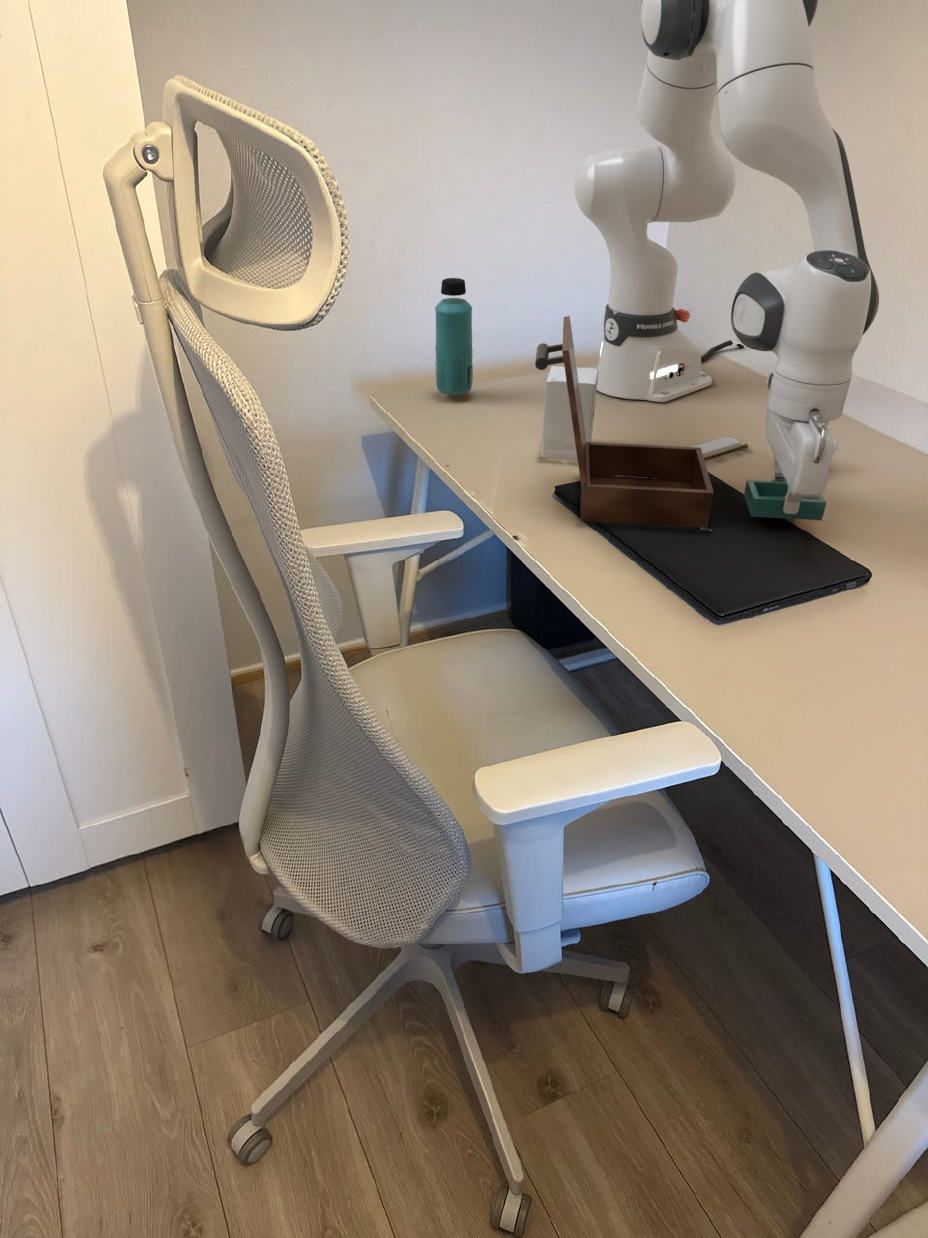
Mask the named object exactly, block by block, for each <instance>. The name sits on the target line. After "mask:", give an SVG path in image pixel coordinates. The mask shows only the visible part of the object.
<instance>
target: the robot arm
mask: <svg viewBox="0 0 928 1238" xmlns="http://www.w3.org/2000/svg"><path fill="white" fill-rule="evenodd" d="M641 1H642V2H641V8H640V24H641V25H640V26H641V35H642V39H643V41H644V44H645V45H646V47H647V49H648V51H647V55H646V59H645V64H644V68H643V73H642V78H641V81H640V82H641V83H640V87H639V92H638V97H637V102H636V115H637V119H638V122H639V123H640V125H641V127H642V128H643V130H644V131H645V132H646V133H647V134H648V135H649V136H650V137H651V138H652V139H654V140H655V141H657V142H658V143H661V145H660V146H616V147H611V148H606V149H601V150H597V151H593V152H590V153H589V154H587V156H585V158H584V159H583V160H582V162H581V163H580V165H579V167H578V169H577V172H576V175H575V179H574V196H575V201H576V203H577V206H578V207H579V210H580V211H581V212H582V214H583V215H584V216H585V217H586V218H587V219H588V220H590V222H591V223H593V225H594V226H595V227H596V228H597V229H598V231H599V232H600V234H601V235H602V238H603V239H604V242H605V244H606V248H607V251H608V255H609V264H610V265H609V266H610V269H609V272H610V273H609V274H610V275H609V279H610V280H609V292H608V303H607V304H606V305H605V311H604V318H603V335H604V336H603V341H602V342H601V345H600V346H601V347H600V353H599V359H598V362H597V365H596V369H598V381H597V392H599V393H602V394H604V395H607V396H610V397H615V398H619V399H627V400H644V401H650V402H656V403H666V402H669V401H673V400H675V399H678V398H681V397H683V396H686V395H689V394H691V393H693V392H696V391H699V390H701V389H705V388H707V387H710V386H712V385H713V379H712V377H711V376H710V375H709V374H708V373H706V372H704V371H702V363H703V362H704V361H706V360H707V359H708V358H710V357H711V356H712V355H713V354H714V353H716V352H718V351H721V350H723V349H725V348H727V347H731V346H733V345H732V344H733V343H732V341H731V340H732V339H730V340H727V341H724V342H722V343H719V344H717V345H714V346H713V347H710V348H709V349H708V351H707V352H706V353H704V354H702V353H701V351H700V349H699V347H698V346H697V345H696V344H695V343H694V342H692V341H691V340H690V339H689V338H688V337H687V336H686V334H684V333H683V332H682V331H681V330H680V329H678V328H679V326H678V321H680V322H681V323H688V322H689V320H690V318H691V313H690V310H685V309H683V308H678V309H676V308H675V307H673V306H674V298H675V292H676V285H677V284H676V283H677V277H678V262H677V260H676V258H675V256H674V255H673V254H672V252H671V251H669V250H668V249H667V248H665V247H664V246H662V245H660V244H659V243H657V242H655V241H653V240H652V239H650V238H649V236H648V225H649V224H651V223H692V222H698V221H702V220H709V219H712V218H716V217H719V216H720V215H721V214H722V213H723V212H724V211H725V210H726V208H727V207H728V205H729V204H730V202H731V201H732V198H733V195H734V192H735V186H736V173H735V168H734V165H733V163H732V161H731V159H730V157H729V156H728V155H727V154H726V153H725V152H724V151H723V150H722V149H721V148H720V147H719V146H718V144H717V143H716V141H715V139H714V136H713V132H712V131H713V130H712V118H713V113H714V108H715V103H716V98H717V114H718V122H719V123H718V124H719V128H720V129H719V130H720V133H721V136H722V139H723V143H724V144H725V147H726V148H727V150H728V151H729V152H730V153H731V154H732V156H734V157H735V158H736V160H738V161H739V162H741V163H742V164H744V165H745V166H747V167H749V168H751V169H753V170H756V171H758V172H760V173H764V174H766V175H769V176H771V177H773V178H775V179H777V180H779V181H780V182H782V183H784V184H786V185H787V186H789V187H790V188H791V189H792V190H793V191H794V192H796V193H797V195H798V196H799V197H800V199H801V200H802V202H803V205H804V206H805V209H806V215H807V219H808V224H809V229H810V234H811V239H812V244H813V249H814V251H812V252H809V253H808V254H806V255H805V256H803V257H802V258H801V259H800V261H798V262H795V263H793V264H790V265H786V266H783V267H777V268H770V269H765V270H759V271H758V272H752V273H751V274H749V275H748V276H747V277H746V278H744V280H743V281H742V282H741V283H740V285H739V287H738V288H737V291H736V293H735V295H734V298H733V299H732V304H731V310H730V323H731V329H732V331H733V333H734V335H735V337H736V338H737V340H738V341H740V342H741V343H742V344H743V345H741V344H737V345H735V346H736V347H738V349H744V348H745V347H746V348H748V349H750V350H755V351H758V352H771V353H774V354H775V355H776V357H777V362H776V364H775V366H774V370H771V371H769V373H768V376H767V382H766V387H767V390H768V398H767V406H766V412H765V413H766V414H765V423H764V434H765V438H766V439H767V442H768V445H769V447H770V449H771V451H772V453H773V456H772V457H773V461H772V462H773V463H772V471H773V472H772V476H771V480H770V481H786V482H787V485H788V492H787V494H786V496H784V498H783V503H782V508H783V511H784V513H786V514H796V513H797V512H798V510H799V506H800V502H801V501H802V499H803V498H820V497H821V496H822V495H823V494H824V493H825V492H826V489H827V484H828V480H829V475H830V469H831V465H832V460H833V456H832V454H833V438H834V437H833V435H832V433H831V431H830V430H829V428H828V427H829V424H830V422H832V421H836V420H838V419H839V418H841V417H842V415H843V412H844V408H845V405H846V400H847V396H848V393H849V388H850V385H851V382H852V381H851V380H852V378H853V359H854V356H855V353H856V352H857V349H858V347H859V346H860V344H861V342H862V338H863V336H864V334H865V333H866V332H867V331H868V330H869V329H870V327H871V325H872V324H873V322H874V320H875V318H876V316H877V313H878V310H879V307H880V291H879V287H878V283H877V280H876V278H875V275H874V273H873V272H874V271H873V270H872V268H871V265H870V262H869V259H868V255H867V252H866V247H865V242H864V237H863V232H862V231H863V230H862V226H861V221H860V216H859V211H858V205H857V200H856V195H855V189H854V184H853V178H852V174H851V169H850V164H849V160H848V156H847V152H846V148H845V145H844V142H843V140H842V138H841V136H840V135H839V133H838V132H837V131H836V130H835V129H834V128H833V127H832V126H831V124H830V123H829V121H828V119H827V117H826V115H825V113H824V110H823V108H822V105H821V102H820V99H819V96H818V91H817V87H816V80H815V66H814V65H815V64H814V54H813V53H814V52H813V46H812V38H811V32H810V27H811V25H812V22H813V21H814V18H815V15H816V12H817V8H818V4H819V0H641ZM823 496H824V495H823Z"/></svg>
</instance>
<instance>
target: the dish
mask: <svg viewBox="0 0 928 1238" xmlns="http://www.w3.org/2000/svg"><path fill="white" fill-rule="evenodd" d="M787 492H788V485H787V482H786V481H771V480H765V479H746V482H745V488H744V492H743V499H744V502H745V504H746V505H745V506H746V507H747V511H748V513H749V516H750V517H753V518H767V519H769V518H770V519H786V520H787V519H788V520H803V521H804V520H805V521H823V517H824V515H825V511H826V505H827V501H826V499H825V497H824V495H822V496H821V497H820V498H803V499H802V501H801V502H800V506H799V510H798V512H797V513H796V514H786V513H784V511H783V508H782V503H783V498H784V496H786V494H787Z"/></svg>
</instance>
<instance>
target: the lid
mask: <svg viewBox="0 0 928 1238" xmlns="http://www.w3.org/2000/svg"><path fill="white" fill-rule="evenodd" d="M571 323H572V322H571V315H568V316H563V324H562V325H563V326H562V343H559V344H554V345H548V344H547V343H543V342H542V343H540V344H538V345H537V347H536V354H535V361H534V365H535V368H536V369H537V370H538V371H544V370H546V369H547V368H548V366H553V365H559V364H563V366H564V367H565V374H566V381H567V388H568V395H569V402H570V409H571V416H572V423H573V431H574V438H575V445H576V452H577V459H578V460H577V465H578V473H579V481H580V480H581V483H585V482H587V456H586V434H585V426H584V419H583V411H582V404H581V396H580V389H579V382H578V374H577V367H578V366H577V359H576V353H575V345H574V339H573V337H574V336H573V331H572V324H571ZM555 352H561V353H562V355H560V356H559V355H558V356H552V357H550V353H555Z"/></svg>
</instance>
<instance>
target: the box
mask: <svg viewBox="0 0 928 1238" xmlns="http://www.w3.org/2000/svg"><path fill="white" fill-rule="evenodd" d="M586 456H587V482H585V483H581V480H580V479H579V483H581V494H580V493H579V494H580V495H581V496H580V495H579V499H580V500H579V501H580V502H579V503H580V504H579V505H580V507H579V508H580V522H597V523H598V522H599V523H600V522H601V523H616V524H617V523H618V524H631V525H633V524H634V525H651V526H667V527H668V526H669V527H672V526H673V527H685V528H708V527H709V523H710V517H711V511H712V506H713V500H714V495H715V493H714V488H713V485H712V482H711V478H710V475H709V471H708V467H707V465H706V464H707V463H706V460H704V457H703V454H702V450H701V448H698V447H693V446H676V445H675V446H674V445H656V444H655V445H654V444H637V443H636V444H635V443H633V444H632V443H615V442H595V441H594V442H593V441H591V442H586ZM616 475H622V476H634V477H648V478H633V477H614V476H616ZM652 478H658V479H652Z"/></svg>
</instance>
